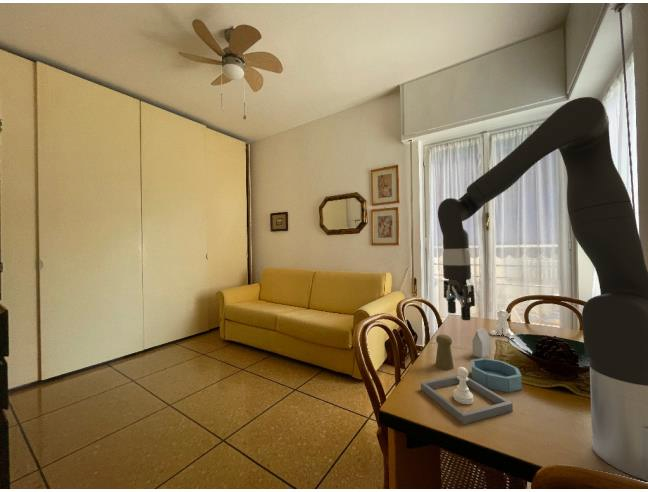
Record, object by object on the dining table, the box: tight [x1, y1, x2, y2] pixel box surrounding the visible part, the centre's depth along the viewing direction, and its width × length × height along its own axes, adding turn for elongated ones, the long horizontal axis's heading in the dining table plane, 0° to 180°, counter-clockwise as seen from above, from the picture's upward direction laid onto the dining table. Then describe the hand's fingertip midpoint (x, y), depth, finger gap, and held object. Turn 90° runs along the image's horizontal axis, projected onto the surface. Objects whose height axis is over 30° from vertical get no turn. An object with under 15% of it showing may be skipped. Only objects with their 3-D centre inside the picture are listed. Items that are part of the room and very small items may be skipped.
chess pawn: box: [452, 366, 474, 405], centre depth 70 cm, size 5×5×9 cm
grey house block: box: [471, 327, 492, 359], centre depth 99 cm, size 4×7×10 cm, turn 122°
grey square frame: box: [420, 374, 514, 425], centre depth 70 cm, size 16×16×2 cm
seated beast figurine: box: [489, 309, 515, 337], centre depth 121 cm, size 10×9×12 cm
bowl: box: [470, 357, 523, 393], centre depth 80 cm, size 13×13×4 cm
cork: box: [435, 334, 454, 371], centre depth 91 cm, size 6×6×11 cm
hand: (458, 316), depth 76 cm, fingers open, 8 cm apart
